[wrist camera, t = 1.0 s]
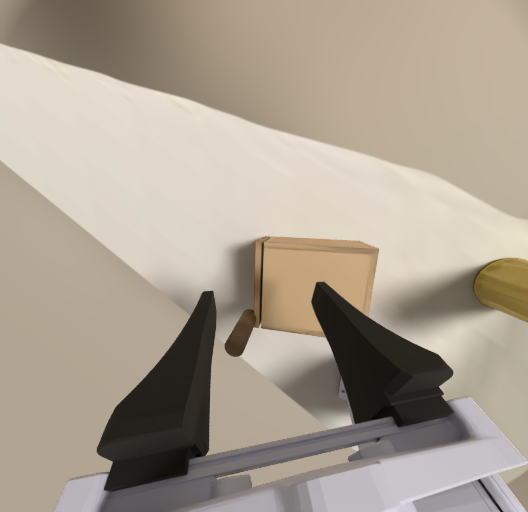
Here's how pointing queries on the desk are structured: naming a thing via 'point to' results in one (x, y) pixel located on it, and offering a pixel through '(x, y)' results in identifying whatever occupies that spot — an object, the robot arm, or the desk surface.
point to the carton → (312, 279)
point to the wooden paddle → (249, 317)
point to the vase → (505, 287)
